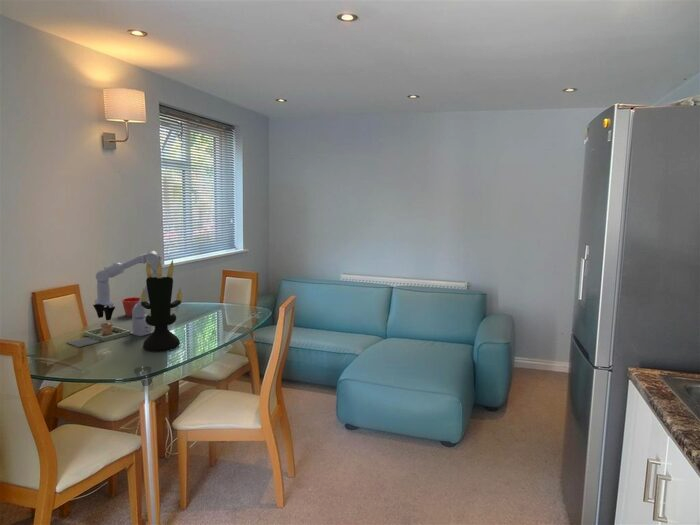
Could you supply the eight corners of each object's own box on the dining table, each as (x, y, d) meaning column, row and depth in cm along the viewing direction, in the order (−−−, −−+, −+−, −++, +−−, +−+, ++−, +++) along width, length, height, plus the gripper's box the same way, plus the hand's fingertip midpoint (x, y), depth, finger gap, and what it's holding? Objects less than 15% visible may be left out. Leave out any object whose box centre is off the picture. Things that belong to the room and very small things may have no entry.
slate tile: (101, 342, 240) (101, 341, 240) (79, 347, 231) (79, 346, 231) (88, 337, 246) (88, 337, 245) (66, 343, 236) (66, 342, 236)
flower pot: (135, 318, 285) (134, 301, 284) (119, 316, 287) (118, 300, 286) (146, 313, 295) (145, 298, 294) (130, 312, 298) (129, 296, 296)
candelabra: (182, 340, 247) (181, 252, 241) (184, 354, 227) (182, 259, 220) (142, 343, 241) (139, 253, 234) (140, 357, 220) (137, 259, 213)
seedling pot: (116, 334, 252) (115, 323, 252) (105, 337, 248) (104, 325, 247) (109, 332, 255) (108, 321, 255) (98, 335, 251) (98, 324, 250)
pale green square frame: (130, 334, 253) (130, 330, 253) (103, 341, 241) (103, 337, 240) (111, 328, 262) (111, 325, 262) (83, 335, 249) (83, 331, 249)
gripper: (88, 292, 249) (89, 317, 251) (103, 296, 241) (104, 322, 243) (101, 290, 255) (102, 315, 257) (117, 294, 247) (117, 320, 249)
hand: (104, 318), depth 250 cm, fingers open, 7 cm apart
